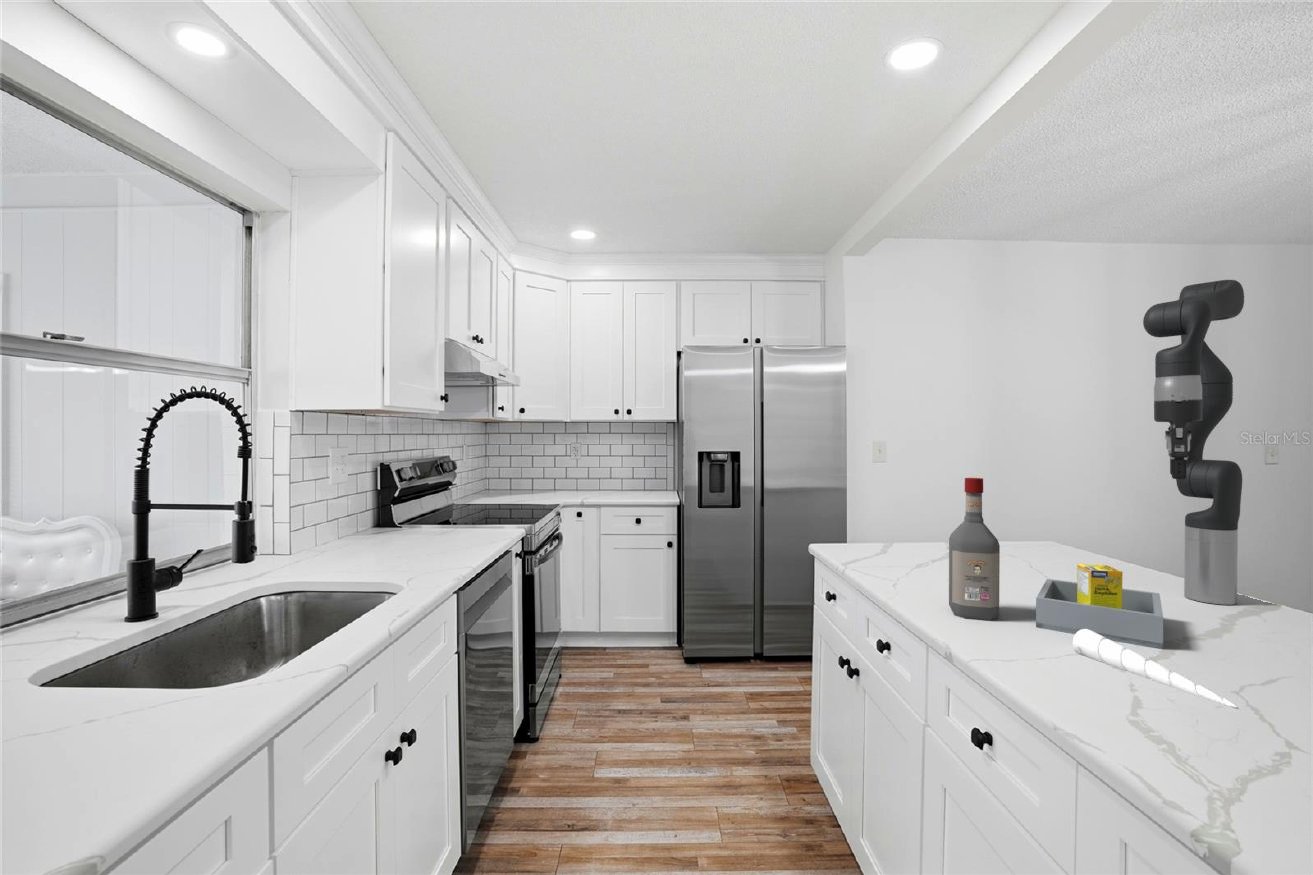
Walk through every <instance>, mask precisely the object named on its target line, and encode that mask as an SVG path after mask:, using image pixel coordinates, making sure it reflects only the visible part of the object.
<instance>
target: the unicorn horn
mask: <svg viewBox="0 0 1313 875" xmlns="http://www.w3.org/2000/svg"><path fill="white" fill-rule="evenodd" d="M1072 638H1073V639H1072V648H1073V651H1074V652H1075V654H1078V655H1081V656H1085V657H1087V658H1089V659H1092V660H1095V661H1096V662H1097V661H1098V662H1100V663H1103V664H1106V665H1109V666H1112V667H1114V668H1116V669H1120V670H1123V671H1128V673H1131V674H1134V675H1137V676H1139V677H1141V678H1145V679H1147V680H1152V681H1154V682H1156V683H1159V684H1162V685H1165V686H1168V687H1171V688H1173V689H1174V688H1175V689H1177V690H1179V691H1182V692H1184V693H1188V694H1191V695H1193V696H1197V697H1199V698H1203V699H1204V700H1205V699H1206V700H1208V701H1212V702H1214V703H1217V704H1221V705H1223V706H1227V707H1231V708H1235V709H1238V708H1239V707H1238V706H1237V705H1236V704H1235V703H1233V702H1231V701H1229V700H1227V699H1226V698H1224V697H1223V698H1222V696H1221V695H1220V694H1217V693H1215V692H1214V691H1211V690H1209V689H1207V688H1206V687H1204V686H1202V685H1200V684H1196V683H1195V682H1194V681H1193V680H1191V679H1189V678H1186V677H1185V676H1183V675H1181V674H1179V673H1177V672H1175V671H1174V672H1172V670H1171V669H1170V668H1167V667H1165V666H1164V665H1162V664H1159V663H1157V662H1156V661H1153V660H1151V659H1150V660H1148V658H1147V657H1145V656H1144V655H1141V654H1139V653H1137V652H1135V651H1133V650H1131V649H1129V648H1128V649H1127V648H1126V646H1123V645H1121V644H1119V643H1117V642H1116V641H1113V640H1109V639H1106V638H1105V637H1103V636H1101V635H1099V634H1097V633H1095V632H1093V631H1091V630H1088V629H1082V630H1080V631H1078V632H1077V633H1076V634H1073V637H1072Z"/></svg>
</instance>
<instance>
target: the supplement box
mask: <svg viewBox="0 0 1313 875" xmlns="http://www.w3.org/2000/svg"><path fill="white" fill-rule="evenodd" d="M1076 569H1077V573H1076V575H1077V576H1076V578H1077V580H1076V581H1077V582H1076V583H1077V603H1082V604H1089V605H1096V606H1103V607H1110V608H1117V609H1122V589H1123V570H1122V571H1121V570H1119V569H1117V568H1114V567H1112V566H1110V565H1108V564H1107V565H1104V564H1088V563H1087V564H1086V563H1078V564H1077V568H1076Z"/></svg>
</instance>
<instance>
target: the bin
mask: <svg viewBox="0 0 1313 875" xmlns="http://www.w3.org/2000/svg"><path fill="white" fill-rule="evenodd" d="M1163 613H1164V612H1163V607H1162V601H1161V594H1160V593H1159V592H1153V591H1152V592H1151V591H1146V590H1145V591H1143V590H1137V589H1136V590H1135V589H1131V588H1130V589H1129V588H1122V609H1117V608H1110V607H1103V606H1096V605H1089V604H1082V603H1077V582H1075V581H1067V580H1060V579H1059V580H1058V579H1051V578H1046V579H1045V581H1044V583H1043V585H1042V587H1041V589H1040V590H1039V592H1038V594H1037V596H1035V627H1036V628H1039V629H1045V630H1052V631H1058V632H1063V633H1069V634H1073V635H1075V634H1076V633H1077V632H1078V631H1080V630H1082V629H1088V630H1091V631H1093V632H1095V633H1097V634H1099V635H1101V636H1103V637H1105V638H1106V639H1109V640H1111V641H1113V642H1119V643H1126V644H1133V645H1138V646H1143V647H1148V648H1155V649H1159V650H1160V649H1161V650H1164V614H1163Z"/></svg>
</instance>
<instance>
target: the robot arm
mask: <svg viewBox="0 0 1313 875" xmlns="http://www.w3.org/2000/svg"><path fill="white" fill-rule="evenodd" d="M1244 304H1245V292H1244V287H1243V286H1242V283H1241V282H1239V281H1237V279H1221V280H1215V281H1208V282H1201V283H1195V284H1189V285H1186V286H1184V287H1182V289H1181V291H1180V292H1179V298H1178V299H1177V300H1173V301H1167V302H1160V303H1155V304H1153V305H1152V306H1151V307H1149V308H1148V309H1147V311H1146V312H1145V314H1144V316H1143V319H1142V324H1143V328H1144V331H1145V332H1146V333H1147V334H1148V335H1150V336H1151V337H1154V338H1168V337H1177V336H1178V337H1179V336H1180V342H1181V343H1179V344H1177V345H1174V346H1171V347H1167V348H1162V349H1160V350H1159V351H1157V352H1156V353H1155V358H1154V359H1155V361H1154V362H1155V365H1154V368H1155V369H1154V370H1155V371H1154V372H1155V373H1154V374H1155V376H1154V377H1155V381H1154V387H1153V419H1154V420H1153V421H1154V422H1156V423H1169V424H1170V425H1168V428H1167V430H1165V432H1164V439H1165V440H1166V442H1165V443H1166V450H1167V452H1168V456H1169V474H1170V475H1171V478H1172V479H1173V480H1176V482H1175V483H1176V486H1177V490H1178V492H1179V493H1180V494H1181V495H1182V496H1184V497H1189V498H1197V499H1212V505H1211V506H1209V507H1208V508H1206V509H1203V510H1200V511H1193V512H1192V511H1191V512H1189V513H1186V515H1185V518H1184V578H1183V580H1184V581H1183V582H1184V586H1183V588H1184V589H1183V596H1184V597H1185V598H1187V599H1189V600H1193V601H1197V602H1200V603H1201V602H1202V603H1207V604H1214V605H1223V606H1224V605H1226V606H1227V605H1228V606H1229V605H1232V606H1233V605H1236V604H1237V603H1238V549H1239V548H1238V544H1239V543H1238V539H1239V538H1238V534H1239V533H1238V532H1239V530H1238V529H1239V520H1240V516H1241V502H1242V501H1241V500H1242V491H1243V473H1242V469H1241V467H1240V466H1239V464H1238V463H1236V462H1235V461H1232V460H1224V459H1223V460H1221V459H1204V458H1203V457H1204V456H1203V455H1204V448H1205V445H1206V442H1207V439H1208V438H1209V436H1210V434H1211V433H1212V431H1213V430H1214V429H1215V428H1216V427H1217V426H1218V424H1219V423H1220V422H1221V421H1222V419H1223V418H1224V417H1225V416H1226V415H1227V414H1228V412H1229V411H1230V409H1231V407H1232V405H1233V401H1234V400H1233V399H1234V398H1233V397H1234V396H1233V394H1234V392H1233V391H1234V384H1233V382H1234V378H1233V374H1232V373H1231V371H1230V369H1229V368H1228V366H1226V364H1225V362H1223V361H1222V360H1221V359H1220V358H1219V357H1218V356H1217V354H1215V352H1213V350H1212V349H1211V348H1210V347H1209V345H1208V344H1207V342H1206V341H1205V338H1206V336H1207V333H1208V330H1209V327H1210V325H1211V322H1217V321H1223V320H1230V319H1233V318H1236V317H1237V316H1239V315H1240V314H1241V313H1242V310H1243V308H1244Z"/></svg>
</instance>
